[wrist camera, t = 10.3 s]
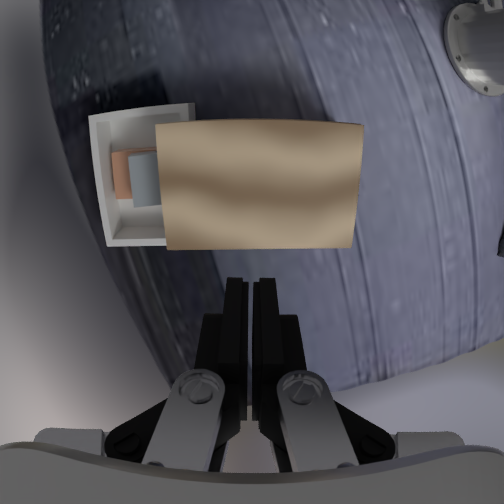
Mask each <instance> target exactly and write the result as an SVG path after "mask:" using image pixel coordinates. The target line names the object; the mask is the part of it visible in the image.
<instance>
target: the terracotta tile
mask: <svg viewBox="0 0 504 504" xmlns="http://www.w3.org/2000/svg"><path fill="white" fill-rule="evenodd" d="M155 150H157V147H143V148H130V149H118V150H116V151H114V152H112V153H111V155H112V166H113V177H114V186H115V195H116V199H133V197H132V189H131V181H130V172H129V162H128V156H129V155H130V154H131V153H138V152H146V151H155Z"/></svg>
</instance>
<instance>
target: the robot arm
mask: <svg viewBox="0 0 504 504" xmlns="http://www.w3.org/2000/svg"><path fill="white" fill-rule="evenodd" d="M490 5H491V6H490ZM490 5H488V2H487V0H479V2H478V3H477V5H476V4H473V3H464V4H460V5H457V6H455V7H454V8H452V9H451V10H450V12H449V13H448V15H447V17H446V20H445V24H444V40H445V46H446V50H447V53H448V56H449V59H450V61H451V63H452V65H453V67H454V69H455V70H456V72H457V74H458V75H459V76H460V78H461V79H462V80H463V81H464V83H465V84H467V85H468V86H469V87H470V88H471V89H472V90H474V91H475V92H477V93H479V94H482V95H486V96H499V95H502V94H503V93H504V8H502V0H490ZM248 289H249V282H243V278H233V277H227V283H226V291H225V300H224V309H223V314H210V313H205V314H204V317H203V322H202V328H201V333H200V338H199V344H198V350H197V355H196V361H195V367H194V370H189V371H187V372H185V373H183V374H182V375H180V376H179V377H178V378H177V379H176V381H175V383H174V385H173V387H172V389H171V392H170V394H169V397H168V398H167V399H165V400H163V401H162V402H160V403H158V404H157V405H155V406H153V407H152V408H150V409H148V410H146V411H145V412H143V413H141V414H139V415H138V416H136V417H134V418H132V419H131V420H129V421H127V422H125V423H123V424H121V425H120V426H118V427H116V428H115V429H113V430H112V431H111V432H103V430H102V429H65V428H46V429H43V430H41V431H40V432H39V433H38V434H37V435H36V436H35V439H34V441H33V442H14V443H8V444H4V445H1V446H0V504H504V452H502V451H501V450H499V449H496V448H493V447H488V446H480V445H464V442H463V439H462V438H461V437H460V436H459V435H457V434H456V433H454V432H448V431H447V432H397V434H396V435H391V434H389V433H387V432H386V431H385V430H383V429H381V428H380V427H378V426H376V425H375V424H373V423H371V422H369V421H368V420H366V419H364V418H362V417H361V416H359V415H357V414H355V413H354V412H352V411H351V410H349V409H347V408H346V407H344V406H342V405H341V404H339V403H338V402H336V401H334V400H333V397H332V395H331V393H330V390H329V388H328V385H327V383H326V382H325V380H324V379H323V378H322V377H321V376H319V375H318V374H316V373H314V372H311V371H307V368H306V362H305V356H304V350H303V344H302V338H301V333H300V327H299V321H298V317H297V315H279V307H278V299H277V290H276V281H275V278H260V280H259V282H254V283H253V324H252V420H253V421H257V420H258V421H259V429H260V432H261V433H262V434H263V435H264V436H266V437H267V438H268V439H270V446H271V451H272V455H273V460H274V464H275V468H276V473H222V471H223V467H224V463H225V459H226V454H227V450H228V446H229V439H230V438H232V437H233V436H235V435H236V434H237V433H238V432H239V431H240V420H247V367H248Z"/></svg>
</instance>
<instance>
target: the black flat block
mask: <svg viewBox="0 0 504 504" xmlns="http://www.w3.org/2000/svg"><path fill="white" fill-rule="evenodd" d="M497 255H498V256H500V257H501V256H502V257H504V234H503V236H502V239H501V240H500V245H499V253H498V254H497Z"/></svg>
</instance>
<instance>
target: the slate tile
mask: <svg viewBox="0 0 504 504" xmlns="http://www.w3.org/2000/svg"><path fill="white" fill-rule="evenodd" d="M128 162H129V172H130V181H131V189H132V197H133V204H134V208H136V207H145V206H154V205H162V202H161V192H160V182H159V171H158V158H157V150H155V151H146V152H138V153H131V154H130V155H129V156H128Z"/></svg>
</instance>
